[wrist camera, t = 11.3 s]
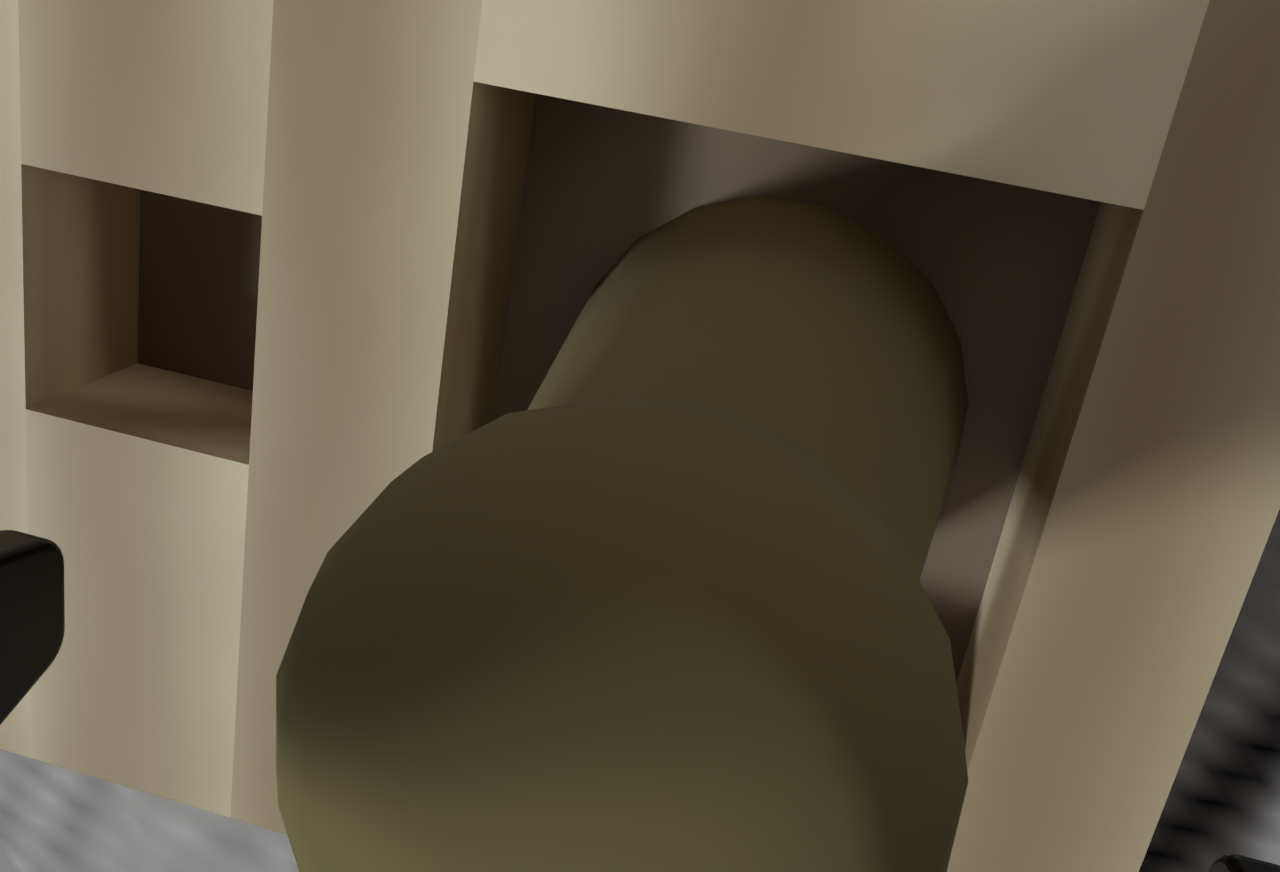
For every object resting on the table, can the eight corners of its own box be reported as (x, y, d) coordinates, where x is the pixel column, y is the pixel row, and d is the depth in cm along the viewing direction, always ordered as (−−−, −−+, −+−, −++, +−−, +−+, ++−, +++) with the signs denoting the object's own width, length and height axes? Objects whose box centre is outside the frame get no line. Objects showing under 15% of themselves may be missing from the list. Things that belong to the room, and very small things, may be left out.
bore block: (1411, -109, 14) (1534, -146, 11) (1041, 922, 20) (1062, 1066, 17) (-37, -323, 17) (-220, -394, 14) (-8, 626, 23) (-136, 707, 20)
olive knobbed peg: (1018, 529, 17) (1168, 1211, 7) (644, 621, 19) (346, 1268, 9) (897, 135, 16) (875, 286, 6) (509, 273, 18) (-24, 571, 8)
